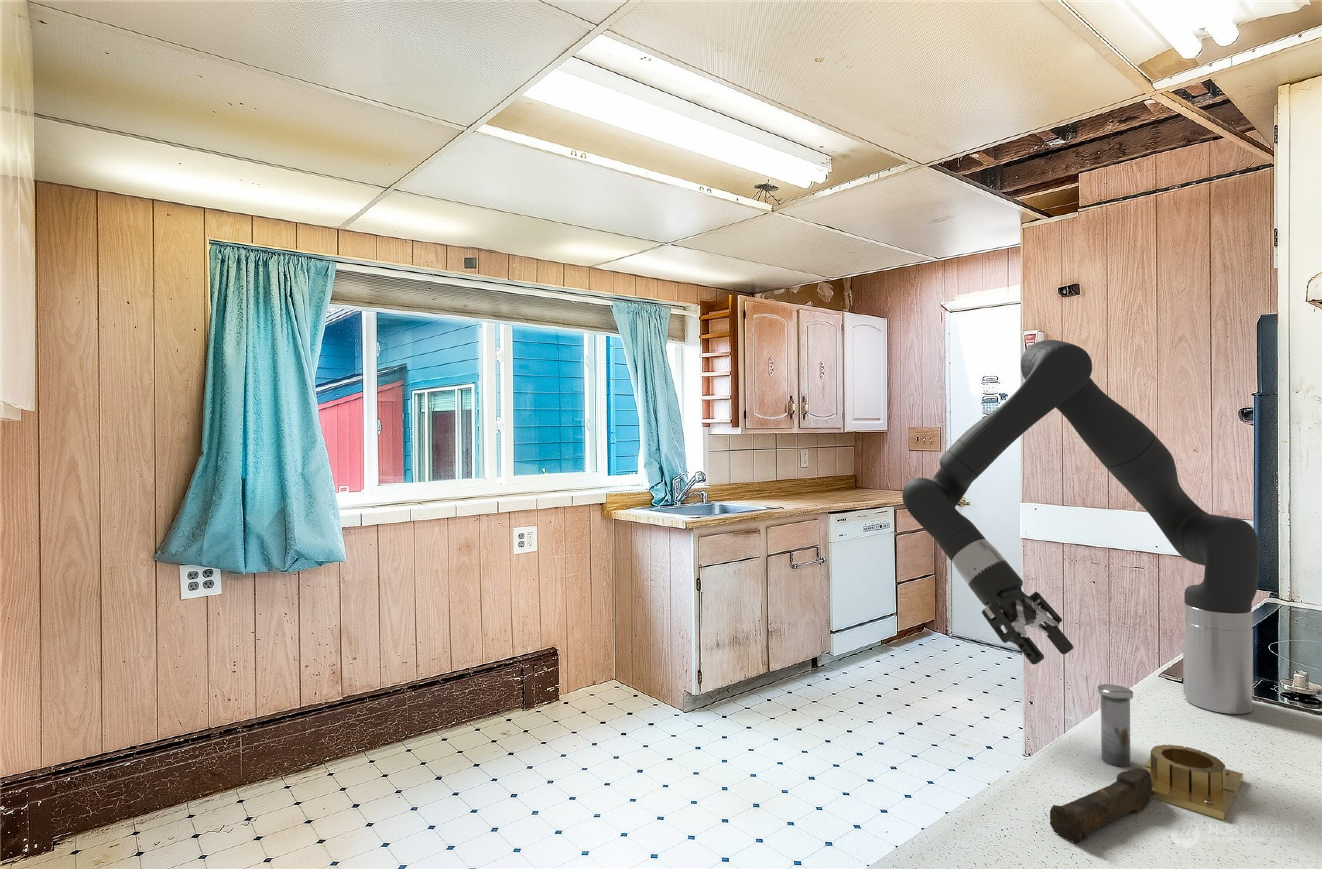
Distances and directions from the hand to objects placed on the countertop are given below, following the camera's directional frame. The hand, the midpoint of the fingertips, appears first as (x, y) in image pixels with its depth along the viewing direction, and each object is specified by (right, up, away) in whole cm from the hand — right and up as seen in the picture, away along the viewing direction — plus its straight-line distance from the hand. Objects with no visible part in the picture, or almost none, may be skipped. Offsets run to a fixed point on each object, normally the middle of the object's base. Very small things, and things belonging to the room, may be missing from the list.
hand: (1054, 656), depth 110 cm
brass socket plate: (+10, -13, -15) cm, 22 cm away
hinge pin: (+5, -13, -7) cm, 16 cm away
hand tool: (-6, -14, -21) cm, 26 cm away
